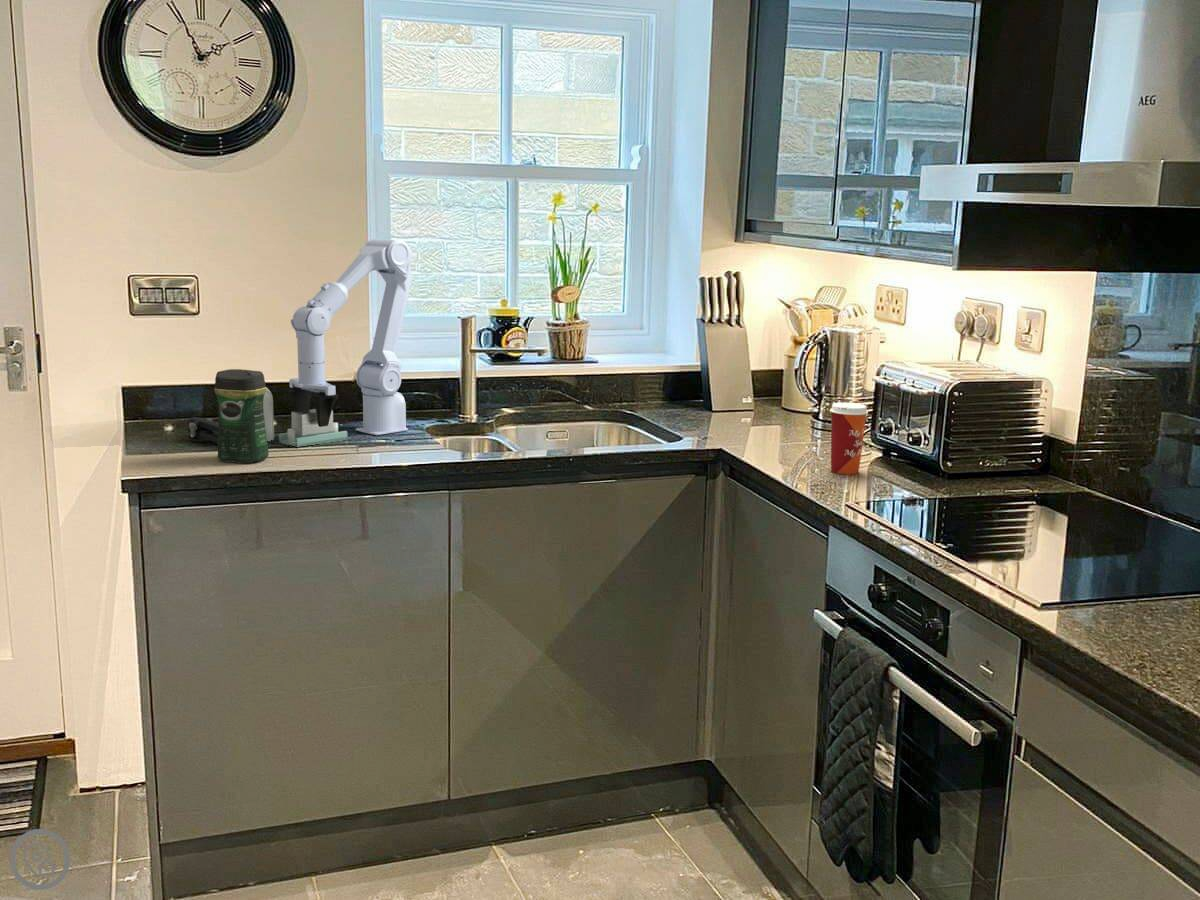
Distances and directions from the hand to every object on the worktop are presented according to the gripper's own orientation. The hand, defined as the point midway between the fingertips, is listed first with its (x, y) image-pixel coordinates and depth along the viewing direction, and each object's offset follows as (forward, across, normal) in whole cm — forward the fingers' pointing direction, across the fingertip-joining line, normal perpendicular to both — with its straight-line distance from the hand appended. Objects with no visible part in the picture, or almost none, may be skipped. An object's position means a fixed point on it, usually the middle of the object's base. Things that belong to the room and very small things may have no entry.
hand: (313, 423), depth 256 cm
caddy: (+4, 0, 0) cm, 4 cm away
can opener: (+4, -11, -17) cm, 21 cm away
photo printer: (+4, -11, -7) cm, 14 cm away
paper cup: (+4, +96, +64) cm, 115 cm away
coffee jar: (+4, +6, -21) cm, 22 cm away
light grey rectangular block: (+3, 0, 0) cm, 3 cm away
